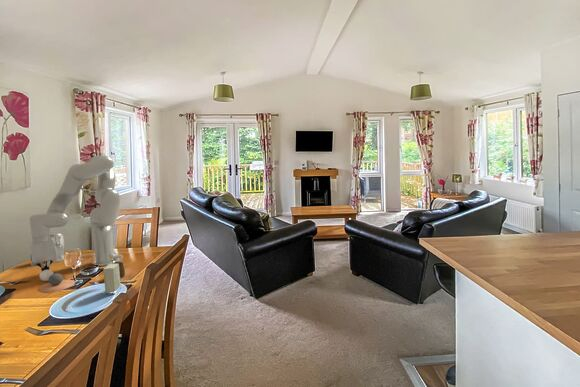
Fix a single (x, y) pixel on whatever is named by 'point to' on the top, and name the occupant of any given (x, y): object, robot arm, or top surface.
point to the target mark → (57, 286)
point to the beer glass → (59, 245)
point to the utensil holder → (121, 267)
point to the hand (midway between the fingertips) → (46, 274)
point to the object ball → (55, 279)
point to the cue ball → (45, 275)
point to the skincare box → (111, 277)
